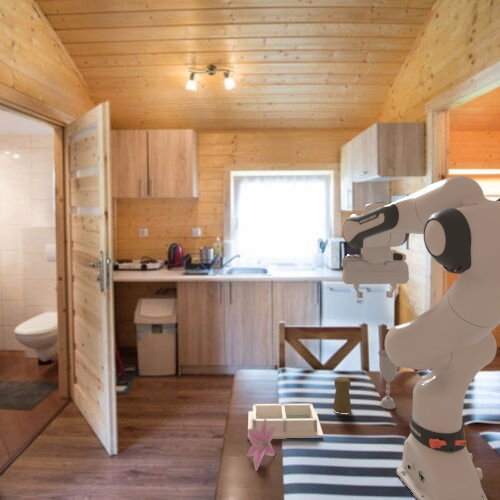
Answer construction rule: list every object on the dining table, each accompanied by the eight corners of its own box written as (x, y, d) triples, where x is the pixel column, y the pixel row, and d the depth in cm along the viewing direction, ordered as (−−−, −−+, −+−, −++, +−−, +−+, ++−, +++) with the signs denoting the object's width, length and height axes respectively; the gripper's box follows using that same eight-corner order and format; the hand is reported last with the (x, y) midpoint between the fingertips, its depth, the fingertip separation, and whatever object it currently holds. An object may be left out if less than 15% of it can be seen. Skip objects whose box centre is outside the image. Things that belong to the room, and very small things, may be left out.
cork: (350, 406, 134) (350, 374, 133) (353, 415, 128) (353, 382, 127) (332, 405, 134) (332, 374, 133) (333, 414, 128) (334, 382, 127)
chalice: (401, 410, 130) (403, 357, 128) (380, 410, 130) (382, 358, 128) (394, 399, 138) (395, 349, 136) (374, 400, 138) (375, 349, 136)
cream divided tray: (323, 438, 115) (323, 423, 115) (247, 439, 116) (247, 424, 115) (315, 413, 129) (315, 400, 129) (248, 414, 130) (248, 401, 129)
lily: (249, 445, 115) (236, 423, 111) (287, 431, 113) (274, 408, 110) (253, 484, 104) (238, 462, 100) (295, 469, 102) (281, 446, 99)
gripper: (344, 256, 122) (343, 300, 123) (411, 255, 121) (410, 299, 123) (340, 253, 128) (339, 295, 130) (404, 252, 128) (402, 294, 129)
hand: (374, 297), depth 126 cm, fingers open, 8 cm apart
